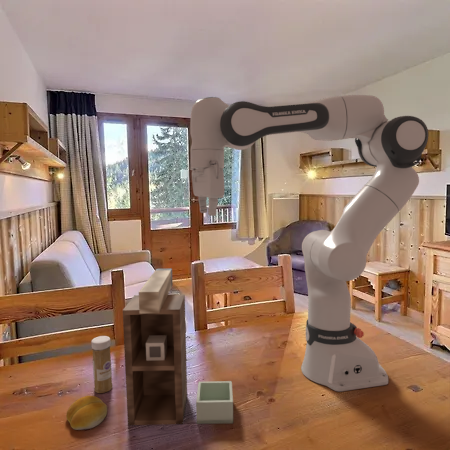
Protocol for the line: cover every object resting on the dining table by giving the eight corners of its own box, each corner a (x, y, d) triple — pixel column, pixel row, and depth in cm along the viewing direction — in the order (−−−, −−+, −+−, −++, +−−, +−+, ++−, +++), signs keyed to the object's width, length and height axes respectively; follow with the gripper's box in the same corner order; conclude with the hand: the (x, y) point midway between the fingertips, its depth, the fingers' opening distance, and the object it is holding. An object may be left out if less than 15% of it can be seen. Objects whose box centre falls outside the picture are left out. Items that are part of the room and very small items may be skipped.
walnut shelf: (187, 396, 85) (184, 294, 82) (182, 424, 75) (179, 309, 72) (138, 397, 85) (134, 295, 82) (127, 425, 75) (122, 310, 72)
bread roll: (75, 437, 72) (74, 420, 71) (63, 416, 79) (62, 400, 78) (114, 419, 77) (113, 403, 77) (99, 401, 84) (98, 386, 84)
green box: (231, 400, 83) (231, 381, 83) (233, 423, 75) (232, 401, 75) (198, 401, 83) (198, 381, 83) (196, 423, 75) (196, 402, 75)
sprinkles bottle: (105, 395, 86) (102, 344, 85) (90, 392, 87) (87, 341, 86) (116, 385, 90) (113, 336, 89) (101, 382, 92) (99, 334, 90)
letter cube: (167, 351, 80) (166, 335, 80) (164, 360, 76) (163, 343, 76) (150, 351, 80) (149, 335, 80) (146, 360, 76) (145, 343, 76)
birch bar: (172, 285, 90) (172, 268, 90) (159, 313, 70) (158, 291, 70) (157, 285, 90) (156, 268, 90) (139, 313, 70) (138, 292, 70)
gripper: (230, 159, 82) (230, 217, 84) (209, 164, 102) (209, 211, 103) (205, 158, 80) (205, 217, 82) (188, 164, 100) (188, 211, 101)
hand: (207, 214), depth 93 cm, fingers open, 8 cm apart
